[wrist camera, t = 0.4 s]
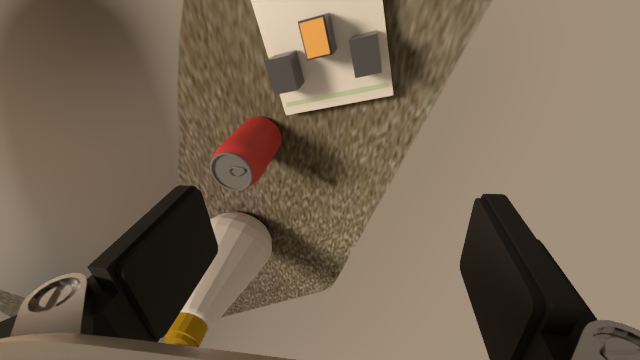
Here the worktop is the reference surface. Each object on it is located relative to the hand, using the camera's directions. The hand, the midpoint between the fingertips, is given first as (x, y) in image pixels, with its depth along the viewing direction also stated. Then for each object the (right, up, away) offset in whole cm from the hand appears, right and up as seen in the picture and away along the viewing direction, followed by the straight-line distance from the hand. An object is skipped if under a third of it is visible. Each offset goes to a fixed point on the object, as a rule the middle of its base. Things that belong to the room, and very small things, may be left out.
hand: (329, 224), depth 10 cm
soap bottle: (-15, -8, +48) cm, 50 cm away
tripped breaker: (0, +19, +25) cm, 31 cm away
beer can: (-9, +9, +36) cm, 39 cm away
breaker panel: (0, +20, +27) cm, 34 cm away
